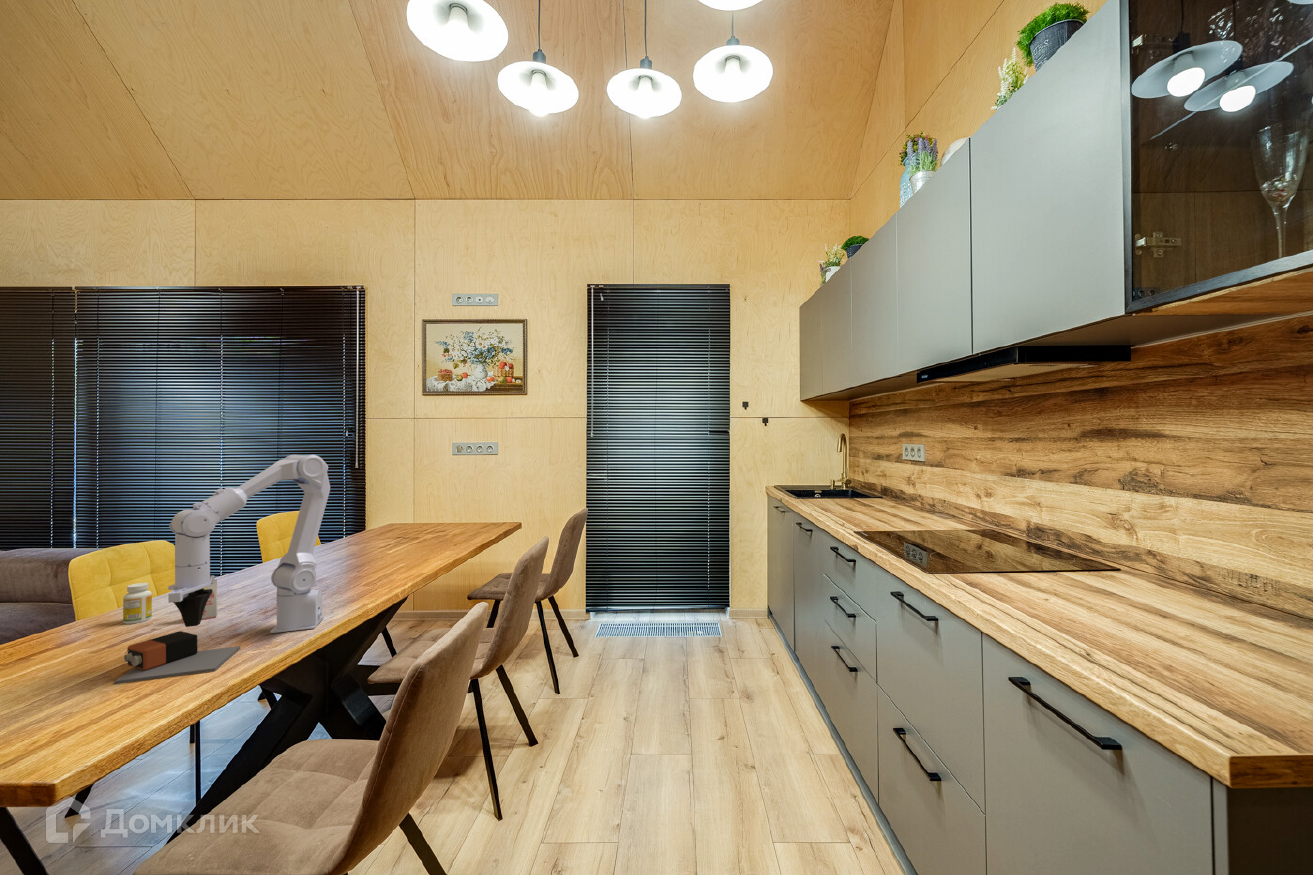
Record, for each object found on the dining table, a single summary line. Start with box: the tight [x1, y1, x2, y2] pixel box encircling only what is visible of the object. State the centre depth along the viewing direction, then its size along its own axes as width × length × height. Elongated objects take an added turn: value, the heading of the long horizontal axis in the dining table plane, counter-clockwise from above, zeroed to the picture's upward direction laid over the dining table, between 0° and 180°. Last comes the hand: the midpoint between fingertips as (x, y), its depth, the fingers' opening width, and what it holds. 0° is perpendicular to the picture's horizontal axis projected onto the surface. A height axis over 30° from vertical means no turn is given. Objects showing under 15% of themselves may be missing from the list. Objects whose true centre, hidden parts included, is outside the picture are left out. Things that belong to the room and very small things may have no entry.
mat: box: [113, 645, 241, 685], centre depth 107 cm, size 16×12×1 cm
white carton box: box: [181, 579, 218, 624], centre depth 136 cm, size 4×7×10 cm, turn 127°
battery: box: [123, 630, 198, 670], centre depth 108 cm, size 4×7×10 cm
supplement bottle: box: [122, 582, 153, 625], centre depth 134 cm, size 5×5×10 cm
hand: (192, 625), depth 112 cm, fingers closed
